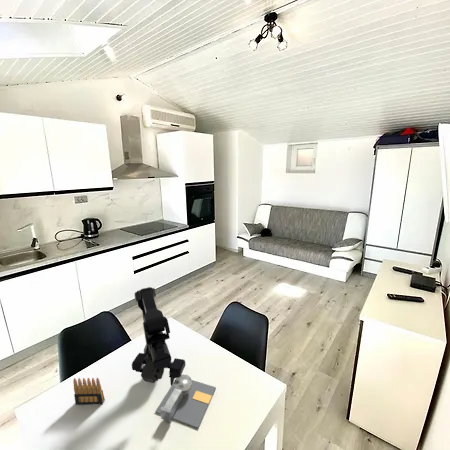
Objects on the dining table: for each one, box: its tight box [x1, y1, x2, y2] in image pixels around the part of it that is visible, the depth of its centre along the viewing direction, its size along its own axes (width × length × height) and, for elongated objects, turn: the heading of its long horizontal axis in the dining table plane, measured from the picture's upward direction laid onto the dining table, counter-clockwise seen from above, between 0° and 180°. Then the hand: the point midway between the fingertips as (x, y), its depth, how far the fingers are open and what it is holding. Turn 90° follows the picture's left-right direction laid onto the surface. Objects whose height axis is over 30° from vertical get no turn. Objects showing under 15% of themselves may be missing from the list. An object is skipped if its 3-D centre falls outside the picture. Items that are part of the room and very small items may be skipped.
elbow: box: [160, 374, 193, 423], centre depth 96 cm, size 16×7×4 cm, turn 160°
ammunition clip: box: [73, 377, 105, 406], centre depth 96 cm, size 11×2×12 cm, turn 90°
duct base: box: [155, 379, 217, 430], centre depth 97 cm, size 18×17×3 cm
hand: (160, 382), depth 92 cm, fingers open, 9 cm apart
